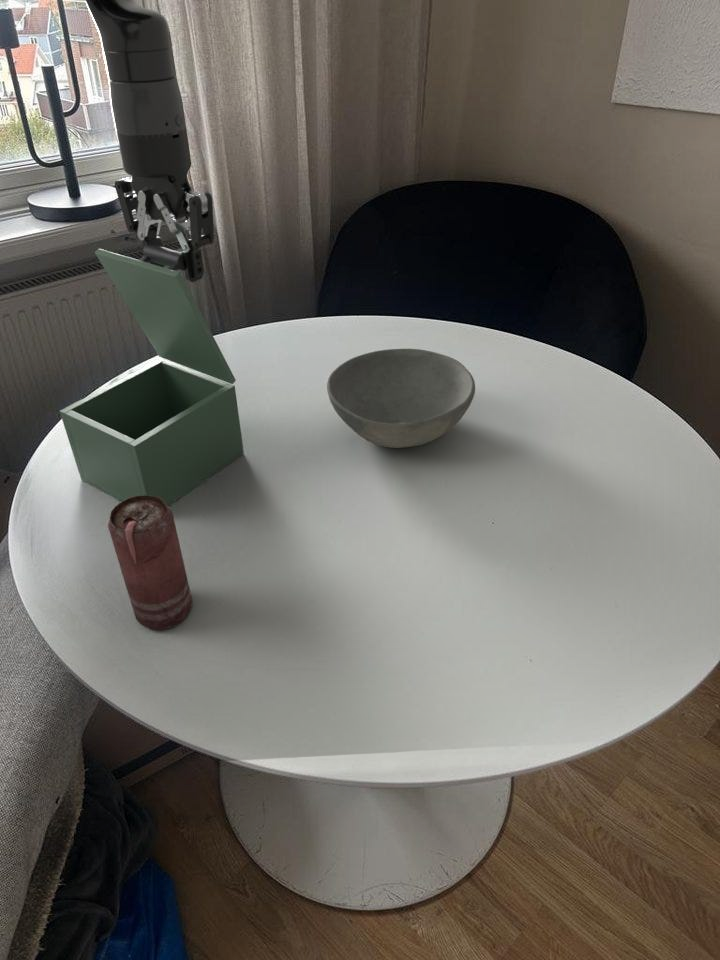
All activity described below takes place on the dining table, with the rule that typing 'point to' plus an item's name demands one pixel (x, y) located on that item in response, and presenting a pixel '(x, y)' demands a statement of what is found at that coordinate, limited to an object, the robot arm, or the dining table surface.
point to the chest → (155, 432)
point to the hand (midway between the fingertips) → (175, 273)
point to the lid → (166, 309)
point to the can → (151, 561)
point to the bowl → (401, 395)
